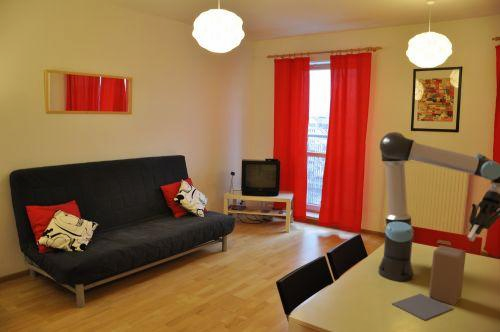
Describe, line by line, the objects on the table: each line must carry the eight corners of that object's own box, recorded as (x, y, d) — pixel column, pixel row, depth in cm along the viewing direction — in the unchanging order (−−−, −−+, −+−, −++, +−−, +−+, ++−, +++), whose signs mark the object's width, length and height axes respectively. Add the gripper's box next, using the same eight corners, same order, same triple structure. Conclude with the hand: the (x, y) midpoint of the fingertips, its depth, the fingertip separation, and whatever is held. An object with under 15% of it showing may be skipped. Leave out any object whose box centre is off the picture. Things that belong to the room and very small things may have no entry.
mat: (420, 294, 164) (420, 293, 164) (453, 308, 153) (453, 307, 153) (391, 304, 155) (391, 303, 155) (424, 320, 143) (424, 319, 143)
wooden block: (435, 290, 169) (439, 244, 166) (461, 298, 163) (466, 250, 160) (428, 298, 161) (432, 250, 159) (455, 306, 155) (460, 256, 152)
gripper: (477, 187, 177) (452, 229, 171) (509, 193, 166) (483, 238, 160) (482, 198, 181) (458, 240, 174) (514, 204, 170) (489, 248, 163)
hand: (470, 239), depth 167 cm, fingers closed
